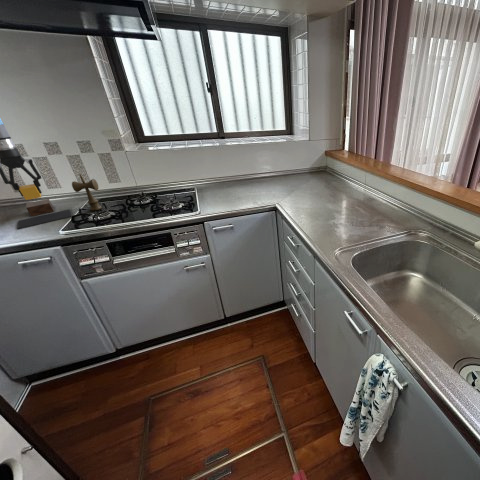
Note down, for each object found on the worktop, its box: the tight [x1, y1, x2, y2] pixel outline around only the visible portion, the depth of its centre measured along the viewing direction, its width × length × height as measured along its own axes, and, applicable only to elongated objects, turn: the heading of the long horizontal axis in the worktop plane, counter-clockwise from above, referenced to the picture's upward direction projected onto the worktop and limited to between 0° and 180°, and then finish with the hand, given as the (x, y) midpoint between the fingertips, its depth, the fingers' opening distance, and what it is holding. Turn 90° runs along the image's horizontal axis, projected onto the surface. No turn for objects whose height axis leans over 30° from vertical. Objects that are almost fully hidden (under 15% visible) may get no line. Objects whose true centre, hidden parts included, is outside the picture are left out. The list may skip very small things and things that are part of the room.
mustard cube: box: [19, 183, 42, 201], centre depth 139 cm, size 6×6×6 cm
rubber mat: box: [17, 209, 72, 230], centre depth 136 cm, size 20×12×1 cm, turn 133°
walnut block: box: [25, 198, 55, 218], centre depth 144 cm, size 9×9×5 cm
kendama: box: [71, 173, 103, 212], centre depth 141 cm, size 6×10×20 cm, turn 113°
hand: (31, 194), depth 140 cm, fingers closed on mustard cube, 6 cm apart
